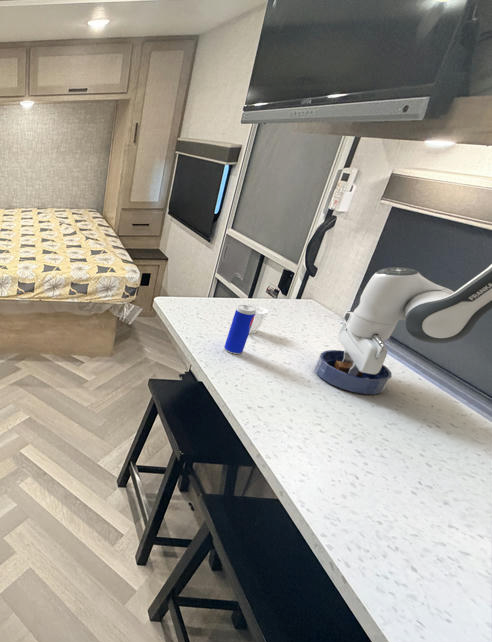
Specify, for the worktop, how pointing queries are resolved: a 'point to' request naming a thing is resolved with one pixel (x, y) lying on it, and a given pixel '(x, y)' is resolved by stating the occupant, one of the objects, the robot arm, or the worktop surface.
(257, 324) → the cup
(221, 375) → the worktop surface
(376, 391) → the bowl
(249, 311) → the beverage can
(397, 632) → the worktop surface
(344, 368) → the eraser
